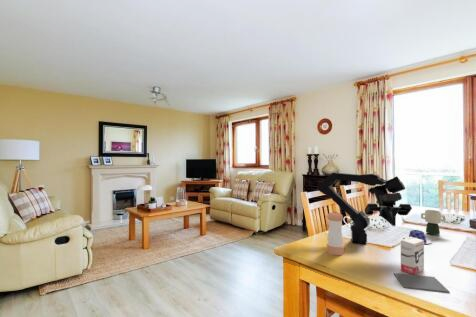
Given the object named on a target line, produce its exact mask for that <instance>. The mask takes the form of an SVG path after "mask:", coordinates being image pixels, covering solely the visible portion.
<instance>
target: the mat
mask: <svg viewBox="0 0 476 317" xmlns="http://www.w3.org/2000/svg"><path fill="white" fill-rule="evenodd" d="M393 274H394V276H395V277H396V279H397V280H398V282H399V283H400V285H401V286H402V287H403V288H404V289H412V290H413V289H414V290H421V291H431V292H437V291H439V292H438V293H447V294H448V293H449V294H450V290H448V289H447V287H445V286H444V285H443V284H442V282H440V281H439V280H438V279H437V278H436V277H435V276H431V275H430V276H429V275H418V274H415V275H413V274H410V273H400V272H393Z"/></svg>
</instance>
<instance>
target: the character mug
mask: <svg viewBox="0 0 476 317" xmlns="http://www.w3.org/2000/svg"><path fill="white" fill-rule="evenodd" d="M441 213H442V212H441V211H439V210H435V209H425V210H424V212H421V213H420V218H421V219H422V220H425V222H426V223H427V224H426V228H425V232H426V233H427V234H430V235H440V232H441V231H440V226H439V224H440V223H441V222H445V221H446V215H442V214H441ZM441 218H442V219H441Z"/></svg>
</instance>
